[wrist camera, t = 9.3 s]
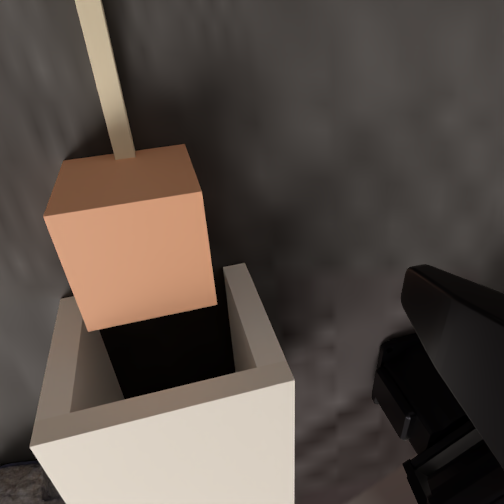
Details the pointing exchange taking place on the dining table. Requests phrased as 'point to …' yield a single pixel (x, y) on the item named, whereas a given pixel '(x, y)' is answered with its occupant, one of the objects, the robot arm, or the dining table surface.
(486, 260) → the dining table surface
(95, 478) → the white open box
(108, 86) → the cream and brown mallet
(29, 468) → the decorative stone
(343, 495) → the dining table surface
